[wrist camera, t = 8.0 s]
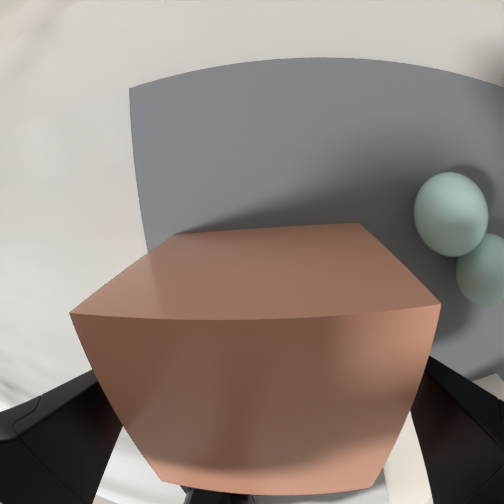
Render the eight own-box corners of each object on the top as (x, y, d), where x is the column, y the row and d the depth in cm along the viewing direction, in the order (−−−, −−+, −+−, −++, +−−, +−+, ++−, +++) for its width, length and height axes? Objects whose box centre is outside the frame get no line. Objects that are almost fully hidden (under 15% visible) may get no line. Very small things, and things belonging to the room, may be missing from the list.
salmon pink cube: (349, 371, 12) (371, 487, 6) (203, 374, 13) (162, 481, 7) (358, 222, 10) (441, 303, 4) (173, 234, 11) (68, 312, 5)
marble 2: (485, 285, 10) (519, 313, 7) (439, 291, 11) (471, 326, 8) (494, 225, 9) (534, 243, 6) (447, 226, 10) (488, 247, 7)
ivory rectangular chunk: (460, 437, 14) (483, 496, 8) (381, 459, 15) (393, 530, 9) (496, 372, 12) (539, 438, 5) (407, 398, 13) (438, 490, 6)
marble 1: (458, 241, 10) (497, 265, 7) (400, 244, 10) (433, 272, 7) (461, 171, 9) (505, 178, 6) (400, 168, 9) (438, 173, 6)
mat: (469, 432, 14) (471, 435, 14) (215, 462, 17) (214, 466, 17) (541, 106, 7) (545, 105, 7) (133, 90, 10) (129, 88, 9)
